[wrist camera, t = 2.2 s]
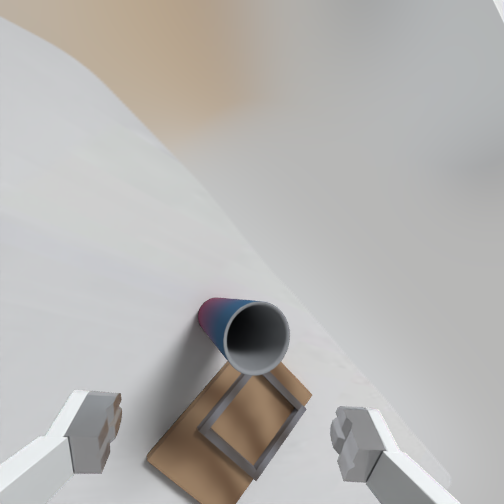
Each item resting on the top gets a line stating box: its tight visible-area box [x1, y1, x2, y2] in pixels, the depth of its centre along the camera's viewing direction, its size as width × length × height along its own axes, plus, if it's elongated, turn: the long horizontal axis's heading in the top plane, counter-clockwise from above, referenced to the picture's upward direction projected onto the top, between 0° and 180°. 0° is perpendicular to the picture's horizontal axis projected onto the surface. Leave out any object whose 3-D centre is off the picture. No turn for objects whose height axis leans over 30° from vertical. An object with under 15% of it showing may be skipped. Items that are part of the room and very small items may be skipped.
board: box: [147, 361, 312, 504], centre depth 39 cm, size 20×14×2 cm
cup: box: [198, 298, 290, 376], centre depth 33 cm, size 7×7×15 cm
